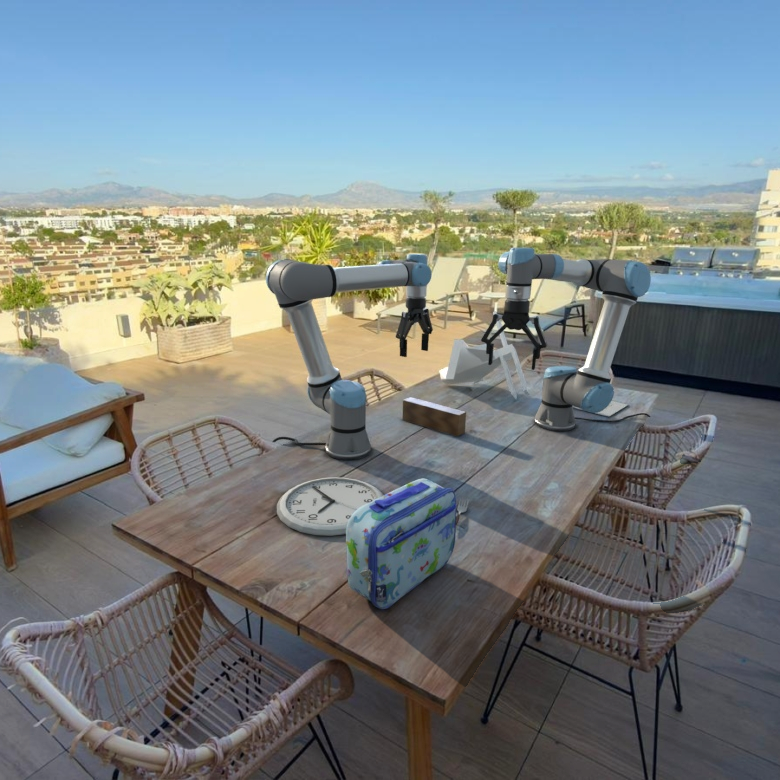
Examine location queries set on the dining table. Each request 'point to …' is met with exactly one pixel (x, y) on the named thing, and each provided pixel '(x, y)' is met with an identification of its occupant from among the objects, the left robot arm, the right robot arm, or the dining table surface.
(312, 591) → the dining table surface
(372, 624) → the dining table surface
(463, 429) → the bar
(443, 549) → the lunch box
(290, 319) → the left robot arm
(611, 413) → the invitation card
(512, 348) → the white plastic object
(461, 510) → the fork
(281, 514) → the wall clock
